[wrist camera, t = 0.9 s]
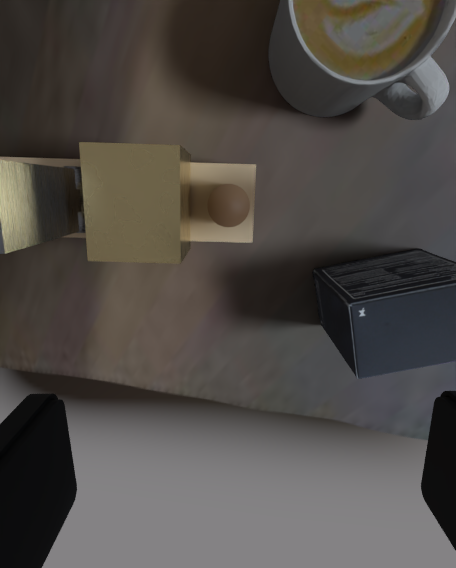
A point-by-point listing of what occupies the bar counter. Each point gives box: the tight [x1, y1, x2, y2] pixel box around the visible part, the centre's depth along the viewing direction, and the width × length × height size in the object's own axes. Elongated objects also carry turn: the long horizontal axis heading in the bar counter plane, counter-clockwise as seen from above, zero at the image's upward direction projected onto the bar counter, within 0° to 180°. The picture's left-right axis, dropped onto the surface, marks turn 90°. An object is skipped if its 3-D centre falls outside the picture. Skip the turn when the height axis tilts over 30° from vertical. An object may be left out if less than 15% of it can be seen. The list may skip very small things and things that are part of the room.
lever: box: [0, 160, 86, 254], centre depth 22 cm, size 5×1×11 cm, turn 178°
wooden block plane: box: [0, 157, 256, 243], centre depth 29 cm, size 6×22×8 cm, turn 88°
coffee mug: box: [269, 0, 456, 120], centre depth 25 cm, size 13×10×10 cm
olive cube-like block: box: [79, 142, 191, 264], centre depth 25 cm, size 7×6×6 cm
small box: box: [313, 249, 456, 379], centre depth 30 cm, size 11×6×10 cm, turn 102°
